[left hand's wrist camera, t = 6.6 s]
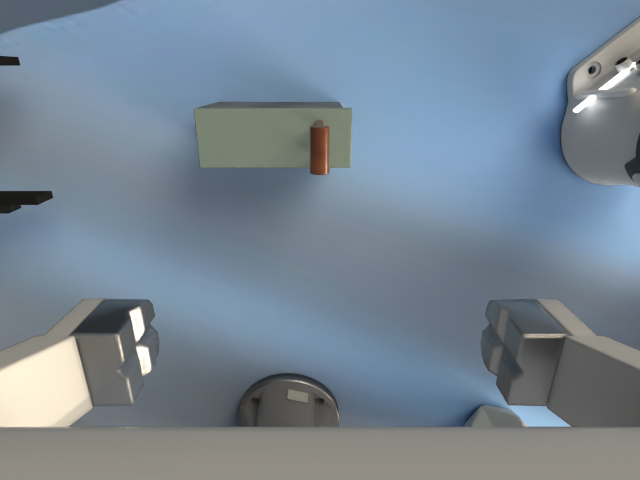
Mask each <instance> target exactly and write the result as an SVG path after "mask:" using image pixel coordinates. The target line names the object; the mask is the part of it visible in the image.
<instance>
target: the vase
mask: <svg viewBox="0 0 640 480" xmlns="http://www.w3.org/2000/svg"><path fill="white" fill-rule="evenodd" d="M464 427H528V426H527V425H526V424H525V423H524V422H523V421H522V420H521V419H520V417H519V416H517V415H516V414H515V413H514V412H513V411H512V410H511V409H507V408H501V407H495V406H489V405H483V406H480V407H479V408H478V409H477V410H476V411H475V412H474V414H473V415H472V416H471V417H470V418H469V419H468V420H467V421H466V423H465V424H464Z"/></svg>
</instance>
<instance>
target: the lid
mask: <svg viewBox="0 0 640 480" xmlns="http://www.w3.org/2000/svg"><path fill="white" fill-rule="evenodd" d="M194 116H195V125H196V134H197V144H198V153H199V162H200V167H201V168H310V173H311V174H315V175H325V174H328V173H329V168H350V167H351V134H352V109H351V108H195V109H194Z"/></svg>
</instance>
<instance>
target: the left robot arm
mask: <svg viewBox="0 0 640 480" xmlns="http://www.w3.org/2000/svg"><path fill="white" fill-rule="evenodd" d="M590 66H591V67H592V71H591V73H590V74H589V73H588V69H589V67H590ZM567 94H568V105H567V109H566V112H565V116H564V119H563V123H562V129H561V145H562V151H563V154H564V157H565V159H566V161H567V163H568V165H569V166H570V168H571V169H572V170H573V171H574V172H575V173H576V174H577V175H578V176H580V177H581V178H583V179H584V180H586V181H589V182H591V183H595V184H599V185H630V186H637V187H640V17H639V18H638V19H636V20H635V21H634V22H632V23H631V24H630V25H628V26H627V27H626V28H625V29H623V30H622V31H621V32H619V33H618V34H617V35H615V36H614V37H613V38H612V39H610V40H609V41H608V42H606V43H605V44H604V45H602V46H601V47H600V48H599V49H597V50H596V51H595V52H593V53H592V54H591V55H589V56H588V57H587V58H585V59H584V60H583V61H582V62H580V63H579V64H578V65H576V66H575V67H574V68H573V69H572V70H571V71H570V72H569V74H568V77H567ZM154 317H155V314H154V309H153V304H152V303H151V302H150V301H149V300H141V299H105V298H103V299H83V300H81V301H80V302H79V303H78V304H77V305H76V306H75V307H74V308H73V309H72V310H71V311H69V312H68V313H67V314H66V315H65V316H64V317H63V318H62V319H61V320H60V321H59V322H58V323H57V324H55V325H54V326H53V327H52V328H51V329H50V330H49V331H48V332H47V333H46V334H45V335H44V336H35V337H32V338H30V339H28V340H25V341H23V342H20V343H18V344H15V345H13V346H11V347H8V348H6V349H3V350H1V351H0V480H640V351H639V350H636V349H634V348H632V347H629V346H627V345H624V344H622V343H620V342H617V341H615V340H612V339H610V338H608V337H605V336H596V335H595V334H594V333H593V332H592V331H591V330H590V329H589V328H588V327H587V326H586V325H585V324H583V323H582V322H581V321H580V320H579V319H578V318H577V317H576V316H575V315H574V314H573V313H572V312H571V311H570V310H568V309H567V308H566V307H565V306H564V305H563V304H562V303H561V302H560V301H559V300H556V299H553V298H549V299H511V300H490V301H489V303H488V305H487V308H486V314H485V317H486V318H487V320H488V321H489V323H490V324H489V325H488V327H487V328H486V329H485V330H484V331H483V332H482V338H481V352H482V357H483V361H484V364H485V365H486V367H487V369H488V371H490V372H491V373H493V374H494V375H496V376H497V381H496V385H497V387H498V388H499V390H500V392H501V394H502V395H503V397H504V399H505V400H506V402H507V404H508V405H526V406H547V408H548V409H549V410H551V411H552V412H553V413H554V414H556V415H557V416H558V417H560V418H561V419H562V420H564V421H565V422H566V423H568V424H569V425H570V426H572V427H68V426H70V425H71V424H72V423H74V422H75V421H76V420H78V419H79V418H80V417H82V416H83V415H84V414H86V413H87V412H88V411H90V410H91V409H92V408H93V406H114V405H132V404H133V402H134V400H135V399H136V397H137V395H138V394H139V392H140V390H141V388H142V387H143V385H144V381H143V376H144V375H146V374H147V373H149V372H150V371H152V369H153V367H154V365H155V363H156V361H157V357H158V352H159V337H158V332H157V331H156V330H155V329H154V328H153V327H152V325H151V324H150V323H151V321H152V320H153V318H154Z"/></svg>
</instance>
